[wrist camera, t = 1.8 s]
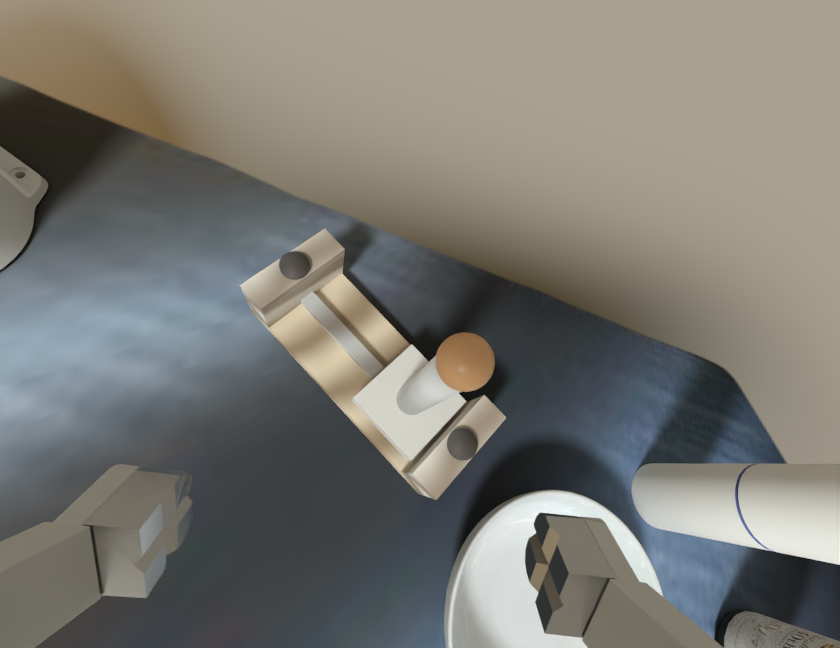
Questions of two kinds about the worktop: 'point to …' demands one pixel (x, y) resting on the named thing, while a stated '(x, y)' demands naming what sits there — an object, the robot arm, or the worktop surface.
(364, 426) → the rail
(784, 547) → the cylindrical container
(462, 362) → the carriage
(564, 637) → the serving bowl
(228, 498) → the worktop surface
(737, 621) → the wine bottle
